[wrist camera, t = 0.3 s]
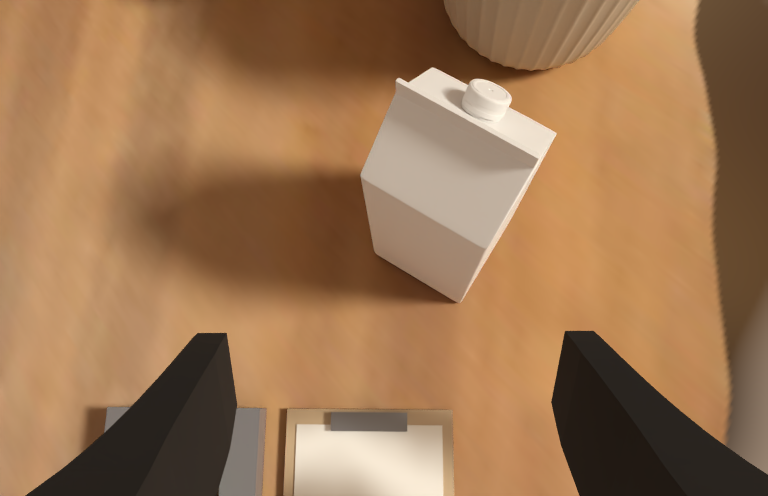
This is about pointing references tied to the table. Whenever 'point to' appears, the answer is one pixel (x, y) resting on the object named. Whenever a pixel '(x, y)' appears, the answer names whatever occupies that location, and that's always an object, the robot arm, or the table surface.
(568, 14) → the canister
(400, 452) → the tan flat tray
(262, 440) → the button housing
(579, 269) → the table surface
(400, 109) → the milk carton
